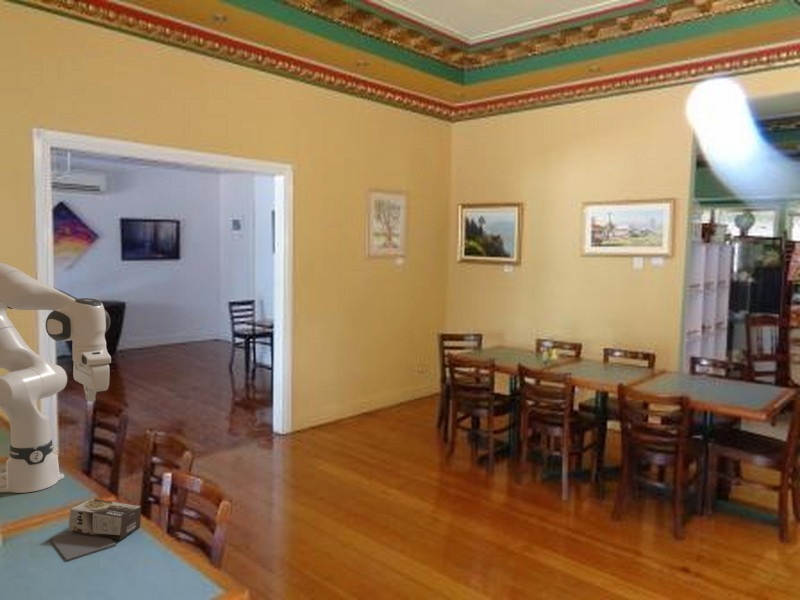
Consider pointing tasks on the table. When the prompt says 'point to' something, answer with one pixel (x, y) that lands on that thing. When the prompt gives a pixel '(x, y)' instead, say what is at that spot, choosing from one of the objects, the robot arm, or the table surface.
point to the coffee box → (105, 518)
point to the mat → (80, 544)
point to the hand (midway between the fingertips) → (90, 400)
